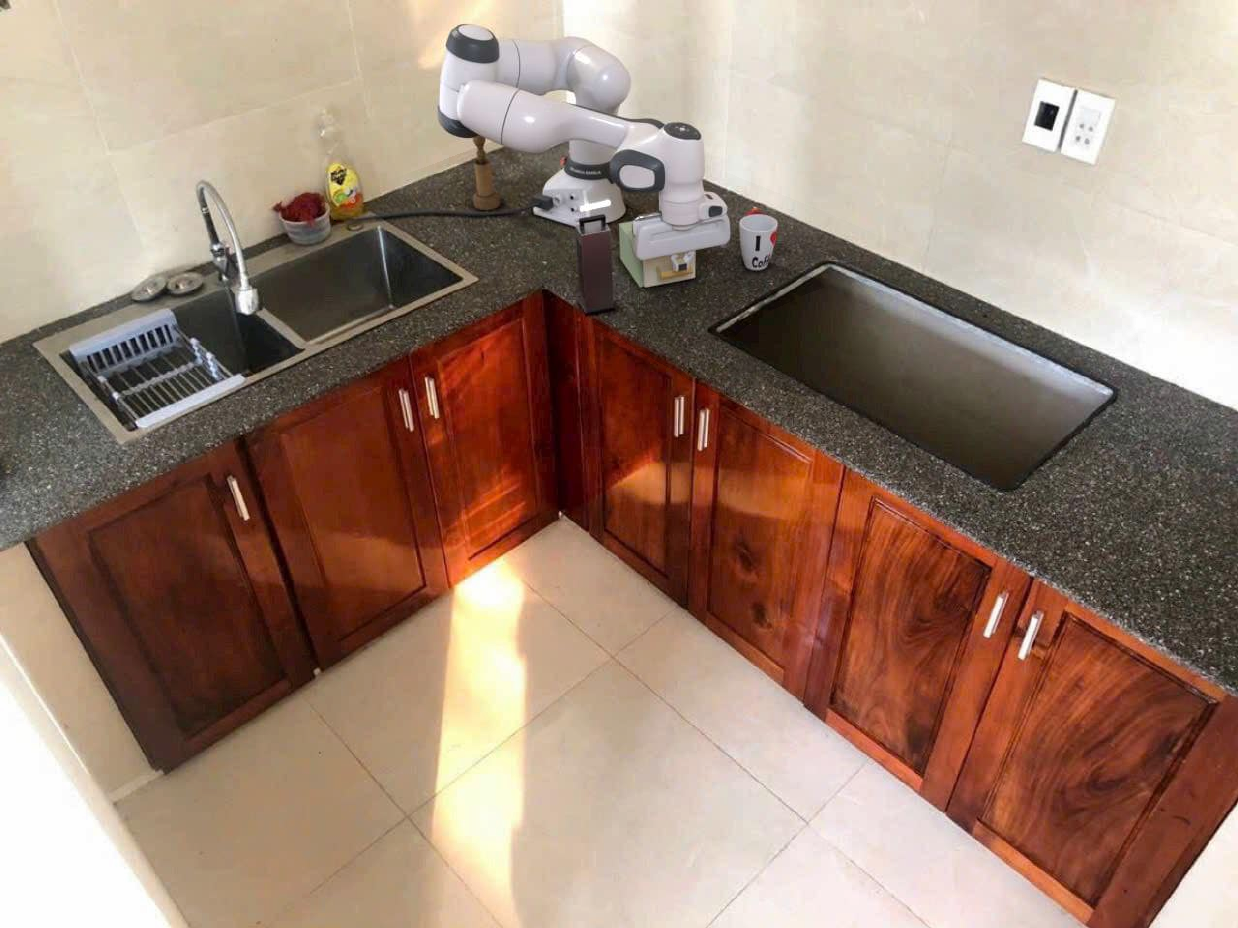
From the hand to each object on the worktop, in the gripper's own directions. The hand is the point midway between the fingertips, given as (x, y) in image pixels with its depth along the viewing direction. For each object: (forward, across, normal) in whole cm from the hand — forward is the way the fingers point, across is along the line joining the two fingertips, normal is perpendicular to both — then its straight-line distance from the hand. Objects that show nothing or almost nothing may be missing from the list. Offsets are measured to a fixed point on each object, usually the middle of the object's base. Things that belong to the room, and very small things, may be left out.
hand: (680, 269), depth 205 cm
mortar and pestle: (+7, -29, +59) cm, 66 cm away
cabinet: (+7, 0, +14) cm, 16 cm away
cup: (+8, +21, +8) cm, 23 cm away
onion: (+8, +25, +19) cm, 32 cm away
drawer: (+6, 0, +10) cm, 12 cm away
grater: (+7, -17, +3) cm, 19 cm away
